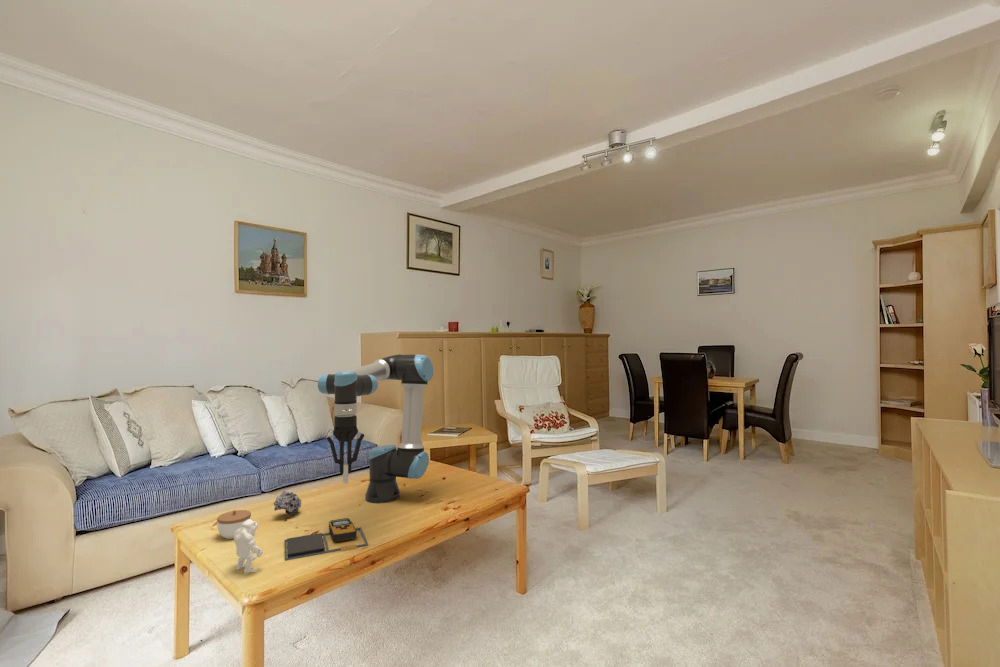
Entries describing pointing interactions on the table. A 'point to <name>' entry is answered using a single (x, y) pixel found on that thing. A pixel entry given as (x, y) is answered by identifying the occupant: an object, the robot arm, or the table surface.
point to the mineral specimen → (288, 502)
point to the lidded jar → (231, 522)
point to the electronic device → (342, 529)
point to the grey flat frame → (313, 545)
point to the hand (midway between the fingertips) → (345, 482)
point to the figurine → (246, 545)
